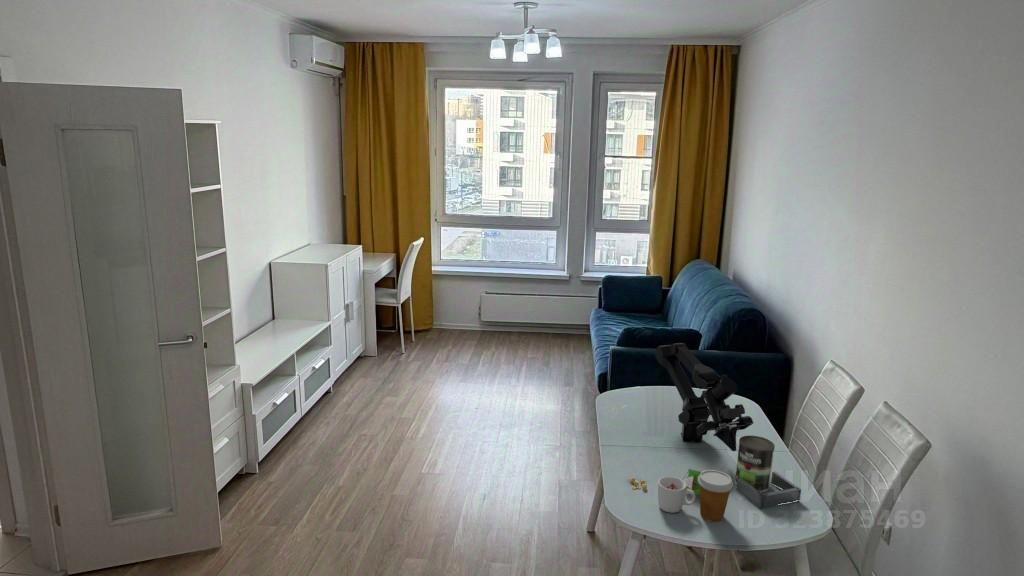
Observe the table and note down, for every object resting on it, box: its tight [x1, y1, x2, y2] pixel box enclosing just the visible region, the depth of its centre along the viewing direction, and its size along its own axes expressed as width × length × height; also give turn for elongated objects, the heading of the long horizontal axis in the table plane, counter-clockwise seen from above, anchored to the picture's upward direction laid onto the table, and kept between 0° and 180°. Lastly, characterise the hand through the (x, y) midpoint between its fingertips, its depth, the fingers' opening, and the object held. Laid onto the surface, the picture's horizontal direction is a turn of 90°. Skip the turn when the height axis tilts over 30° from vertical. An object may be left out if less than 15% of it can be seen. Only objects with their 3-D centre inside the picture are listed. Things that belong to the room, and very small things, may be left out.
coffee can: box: [734, 435, 776, 493], centre depth 206 cm, size 10×10×14 cm
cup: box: [657, 476, 697, 514], centre depth 191 cm, size 11×8×8 cm
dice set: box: [629, 477, 648, 492], centre depth 205 cm, size 5×5×2 cm
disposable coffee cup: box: [698, 469, 734, 523], centre depth 188 cm, size 10×10×12 cm
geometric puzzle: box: [682, 468, 702, 496], centre depth 202 cm, size 7×7×8 cm
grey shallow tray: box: [735, 471, 802, 510], centre depth 200 cm, size 11×14×4 cm
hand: (734, 450), depth 215 cm, fingers closed
